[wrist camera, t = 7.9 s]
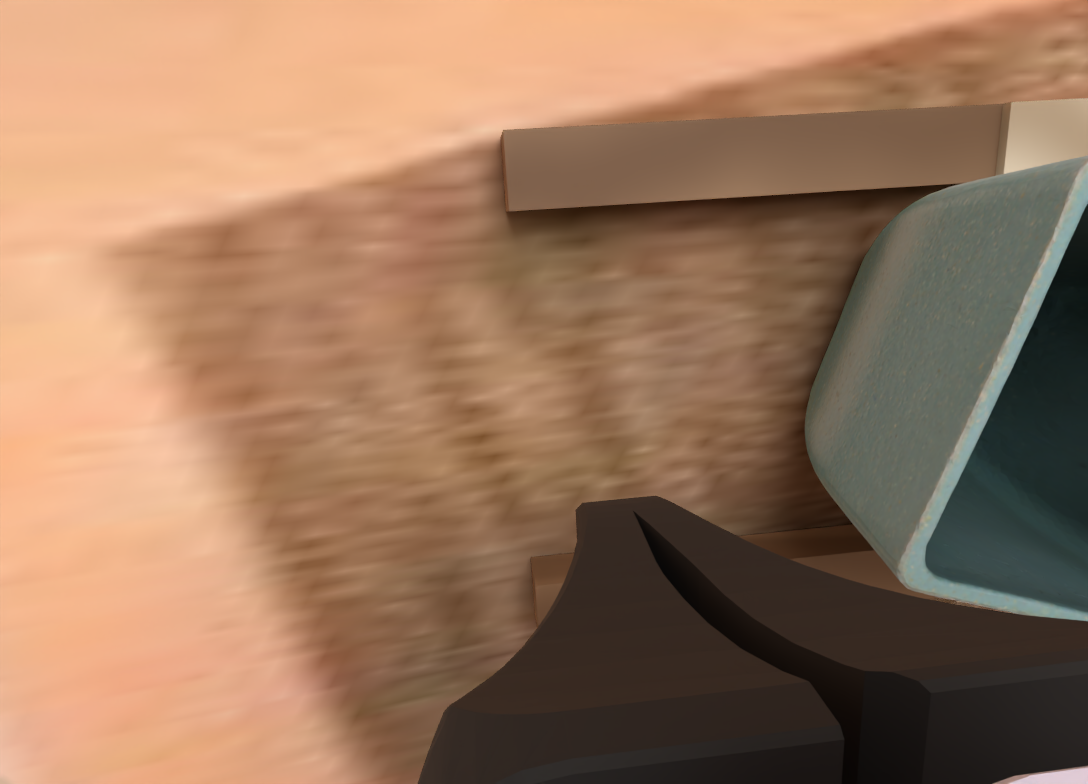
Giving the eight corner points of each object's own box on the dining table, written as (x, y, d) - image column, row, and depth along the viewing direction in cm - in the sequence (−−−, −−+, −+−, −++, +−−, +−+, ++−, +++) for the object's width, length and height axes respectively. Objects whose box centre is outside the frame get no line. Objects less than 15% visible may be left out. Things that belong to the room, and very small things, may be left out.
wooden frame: (1178, 541, 25) (1240, 570, 23) (534, 611, 23) (540, 649, 21) (1266, 96, 21) (1350, 84, 19) (500, 137, 19) (503, 128, 17)
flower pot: (963, 504, 24) (1244, 672, 15) (731, 443, 22) (893, 590, 14) (1078, 254, 22) (1474, 283, 13) (831, 171, 20) (1095, 141, 12)
